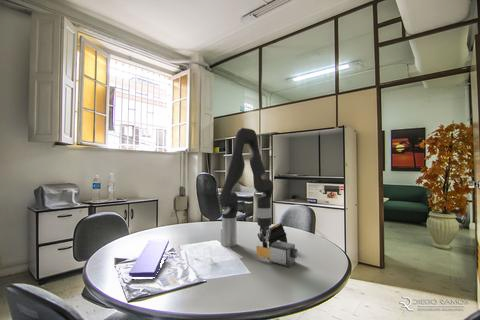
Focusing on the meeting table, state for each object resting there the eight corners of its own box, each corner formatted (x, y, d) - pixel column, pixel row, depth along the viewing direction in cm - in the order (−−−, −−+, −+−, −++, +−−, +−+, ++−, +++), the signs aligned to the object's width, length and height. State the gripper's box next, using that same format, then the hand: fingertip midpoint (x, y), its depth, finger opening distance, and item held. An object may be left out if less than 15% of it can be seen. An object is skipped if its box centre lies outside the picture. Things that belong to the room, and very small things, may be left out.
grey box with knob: (271, 261, 120) (270, 242, 120) (277, 257, 125) (277, 239, 126) (293, 267, 112) (293, 247, 113) (299, 263, 118) (299, 243, 118)
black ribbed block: (293, 246, 137) (282, 223, 138) (273, 256, 137) (262, 233, 137) (291, 244, 141) (280, 222, 142) (272, 254, 141) (261, 232, 141)
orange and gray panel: (290, 266, 113) (289, 249, 113) (289, 267, 112) (288, 250, 112) (257, 257, 124) (257, 242, 124) (256, 258, 123) (256, 243, 123)
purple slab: (169, 256, 129) (169, 238, 130) (155, 280, 102) (156, 257, 102) (148, 257, 128) (148, 239, 129) (128, 281, 100) (128, 258, 101)
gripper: (263, 213, 133) (264, 244, 132) (252, 217, 121) (253, 251, 121) (275, 214, 129) (276, 246, 128) (265, 219, 117) (266, 254, 117)
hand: (265, 248), depth 124 cm, fingers closed
